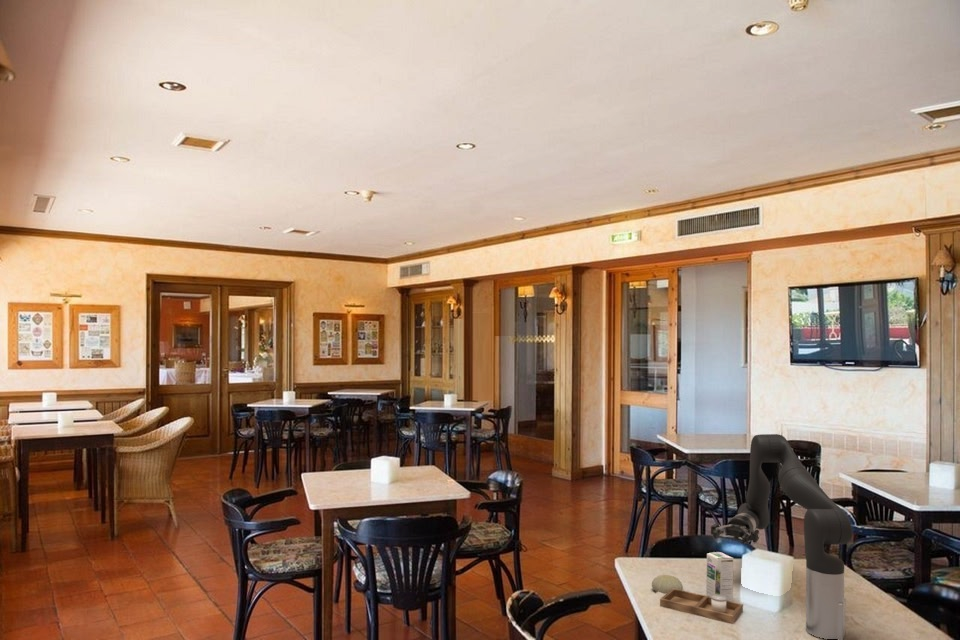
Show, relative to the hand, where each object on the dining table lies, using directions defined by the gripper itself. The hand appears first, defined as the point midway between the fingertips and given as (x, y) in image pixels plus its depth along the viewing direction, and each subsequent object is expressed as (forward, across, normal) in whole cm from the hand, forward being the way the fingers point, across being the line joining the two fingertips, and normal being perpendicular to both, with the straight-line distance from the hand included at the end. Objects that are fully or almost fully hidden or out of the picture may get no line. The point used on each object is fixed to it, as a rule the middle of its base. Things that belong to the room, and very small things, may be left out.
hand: (729, 537), depth 212 cm
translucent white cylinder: (+22, +3, +16) cm, 27 cm away
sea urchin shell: (+12, -16, +17) cm, 26 cm away
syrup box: (+12, 0, +17) cm, 21 cm away
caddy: (+22, -2, +17) cm, 27 cm away
